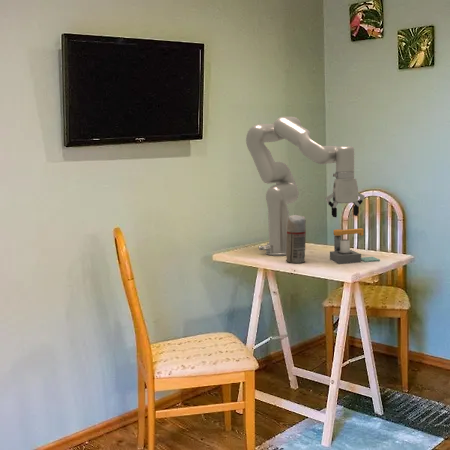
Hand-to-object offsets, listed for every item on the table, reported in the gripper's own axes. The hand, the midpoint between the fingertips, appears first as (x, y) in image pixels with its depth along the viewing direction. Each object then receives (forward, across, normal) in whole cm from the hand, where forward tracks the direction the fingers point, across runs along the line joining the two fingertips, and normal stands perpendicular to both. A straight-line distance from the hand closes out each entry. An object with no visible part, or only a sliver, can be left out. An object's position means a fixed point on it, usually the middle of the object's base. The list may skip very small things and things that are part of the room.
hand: (345, 216), depth 282 cm
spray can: (+19, -20, +6) cm, 29 cm away
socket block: (+19, 0, 0) cm, 19 cm away
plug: (+19, 0, 0) cm, 19 cm away
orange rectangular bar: (+10, +5, +8) cm, 14 cm away
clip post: (+19, 0, +8) cm, 21 cm away
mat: (+19, +10, -2) cm, 22 cm away
